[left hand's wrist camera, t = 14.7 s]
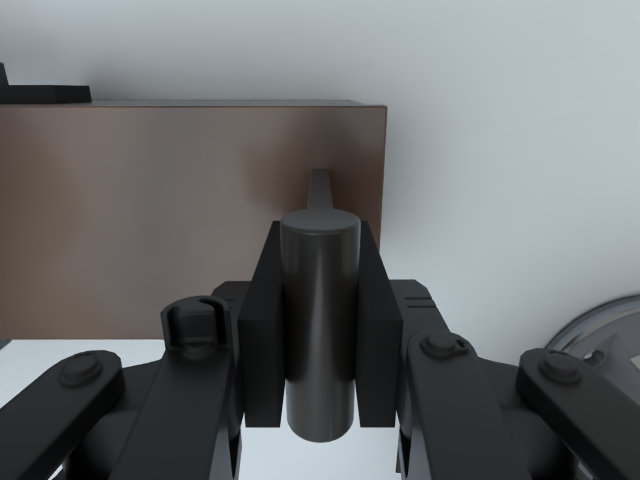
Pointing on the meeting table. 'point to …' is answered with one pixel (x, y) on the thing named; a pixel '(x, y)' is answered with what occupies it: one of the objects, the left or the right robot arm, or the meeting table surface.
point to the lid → (192, 225)
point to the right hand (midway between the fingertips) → (97, 209)
